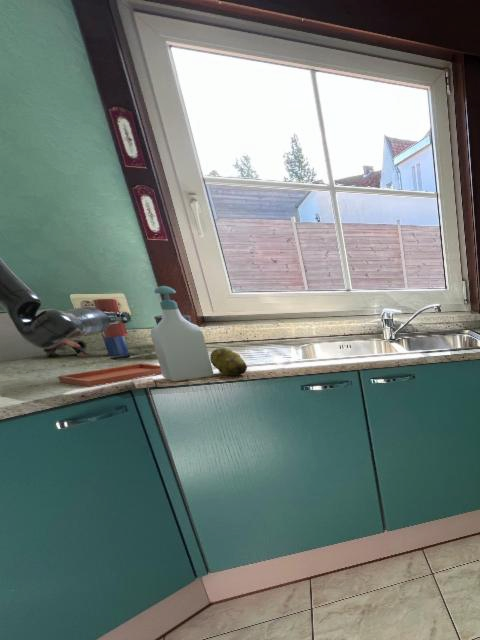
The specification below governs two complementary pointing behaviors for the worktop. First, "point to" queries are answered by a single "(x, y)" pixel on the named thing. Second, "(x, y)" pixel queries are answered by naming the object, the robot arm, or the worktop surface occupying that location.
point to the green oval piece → (228, 362)
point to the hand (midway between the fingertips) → (113, 315)
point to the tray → (111, 374)
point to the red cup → (109, 306)
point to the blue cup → (116, 347)
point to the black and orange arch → (76, 345)
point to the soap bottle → (179, 343)
